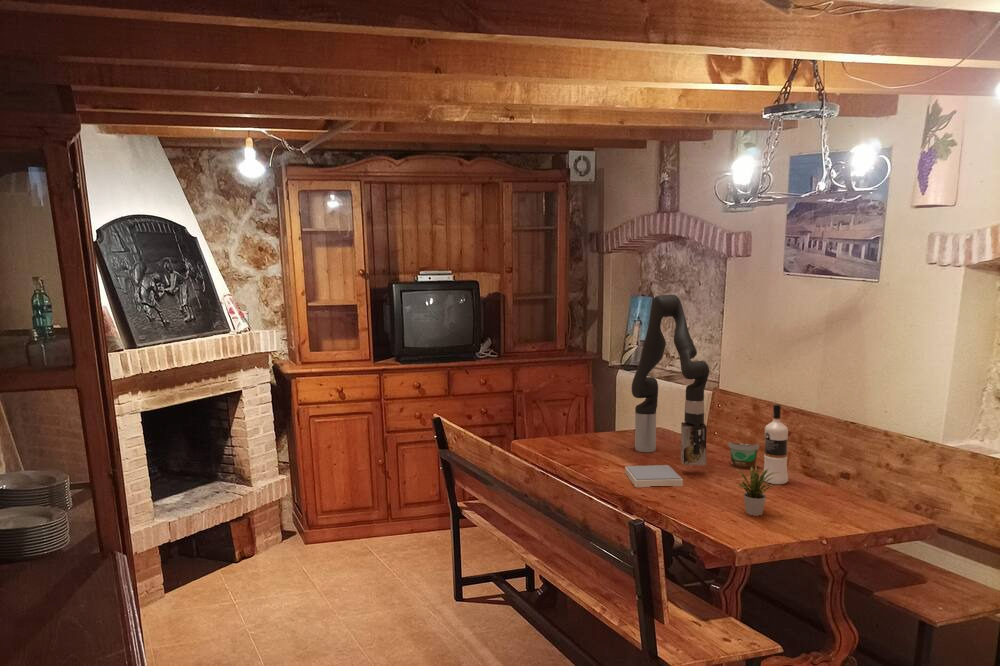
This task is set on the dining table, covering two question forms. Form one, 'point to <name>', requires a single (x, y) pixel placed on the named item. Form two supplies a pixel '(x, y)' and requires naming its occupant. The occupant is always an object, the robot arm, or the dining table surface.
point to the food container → (743, 455)
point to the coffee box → (692, 445)
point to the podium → (653, 476)
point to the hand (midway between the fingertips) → (693, 451)
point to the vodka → (776, 449)
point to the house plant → (755, 492)
